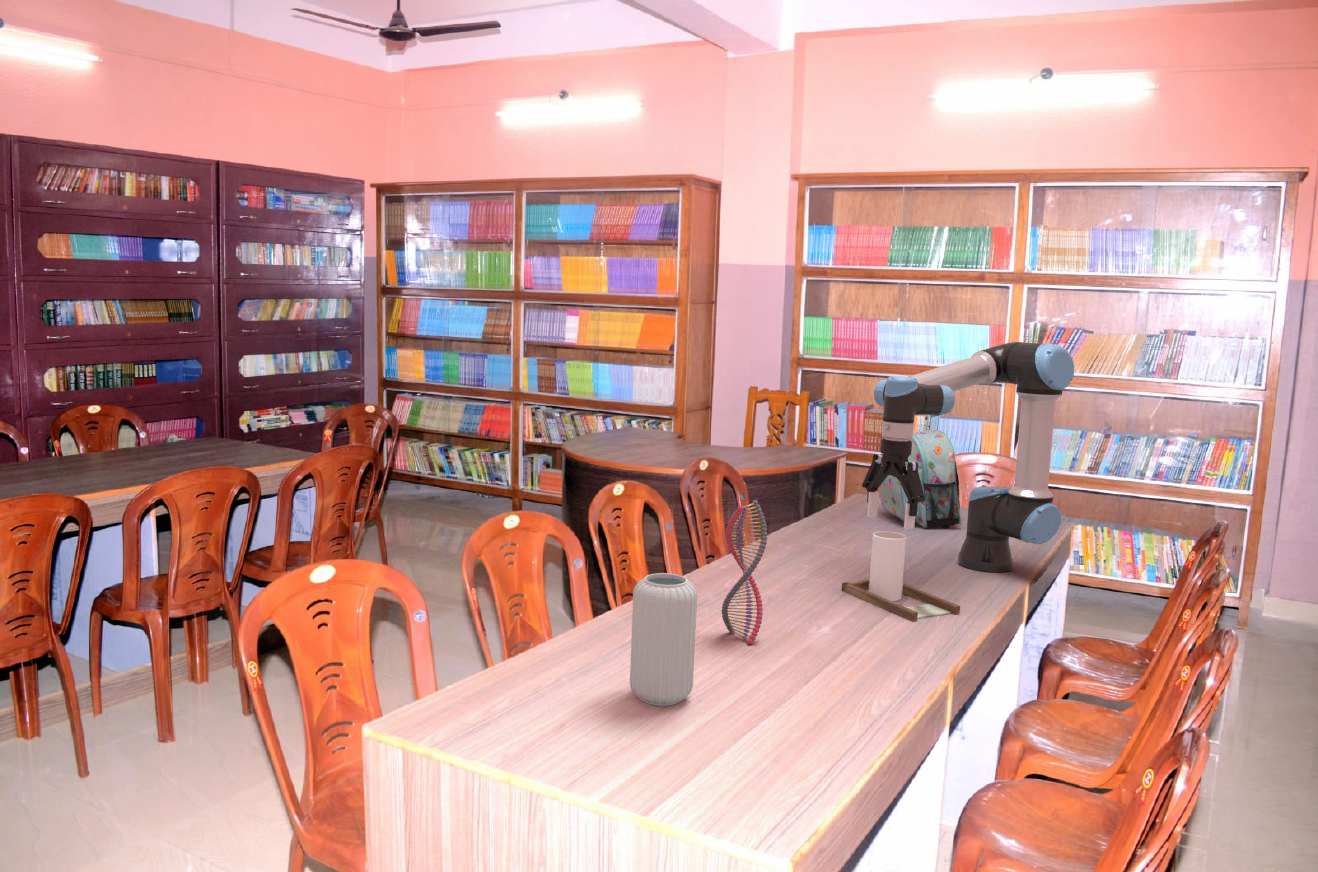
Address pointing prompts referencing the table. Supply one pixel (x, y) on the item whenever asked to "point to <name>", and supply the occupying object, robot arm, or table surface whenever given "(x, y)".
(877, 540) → the cup
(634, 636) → the vase
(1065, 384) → the robot arm
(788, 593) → the table surface
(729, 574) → the table surface
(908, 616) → the frame
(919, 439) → the backpack
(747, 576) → the dna model
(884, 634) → the table surface
